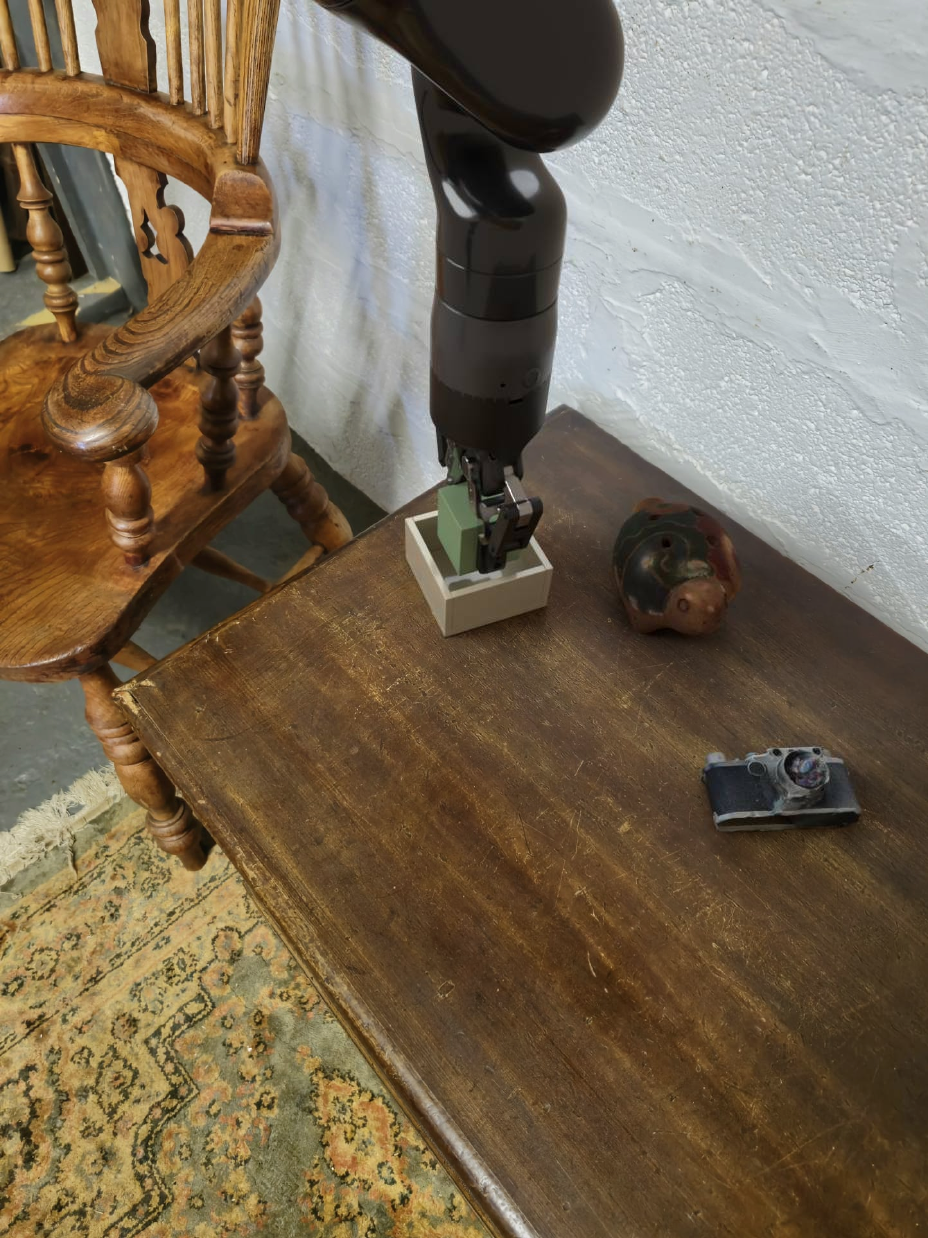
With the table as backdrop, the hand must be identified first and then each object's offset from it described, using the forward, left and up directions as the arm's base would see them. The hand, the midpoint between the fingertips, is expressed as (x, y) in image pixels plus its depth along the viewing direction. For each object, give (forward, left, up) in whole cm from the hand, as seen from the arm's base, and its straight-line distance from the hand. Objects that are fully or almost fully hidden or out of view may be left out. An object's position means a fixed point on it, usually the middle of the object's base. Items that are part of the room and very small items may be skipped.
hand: (477, 544), depth 65 cm
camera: (+11, -25, -5) cm, 28 cm away
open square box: (0, 0, -4) cm, 4 cm away
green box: (0, 0, 0) cm, 0 cm away
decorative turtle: (+13, -7, -5) cm, 16 cm away
